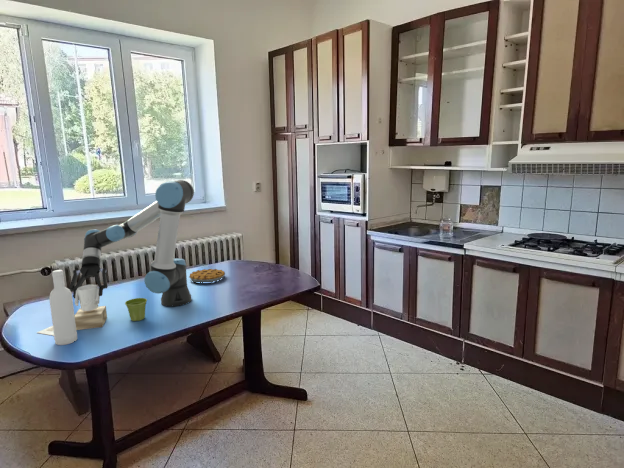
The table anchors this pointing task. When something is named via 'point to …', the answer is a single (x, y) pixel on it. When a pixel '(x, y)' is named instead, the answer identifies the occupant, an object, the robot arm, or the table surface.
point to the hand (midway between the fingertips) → (87, 303)
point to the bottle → (62, 311)
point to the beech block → (90, 318)
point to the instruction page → (47, 331)
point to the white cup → (87, 297)
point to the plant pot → (136, 308)
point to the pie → (207, 275)
